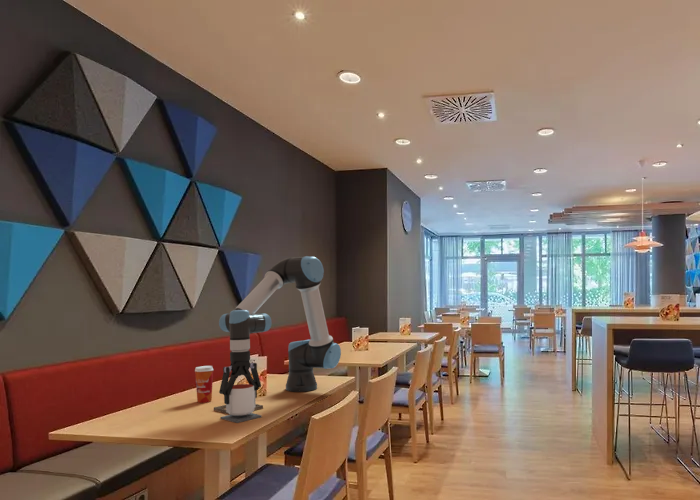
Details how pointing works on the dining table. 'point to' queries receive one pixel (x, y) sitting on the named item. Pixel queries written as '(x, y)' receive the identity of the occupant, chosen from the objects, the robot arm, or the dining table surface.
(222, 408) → the frame
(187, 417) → the dining table surface
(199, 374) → the coffee cup
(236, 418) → the coaster
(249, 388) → the cup
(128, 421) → the dining table surface
